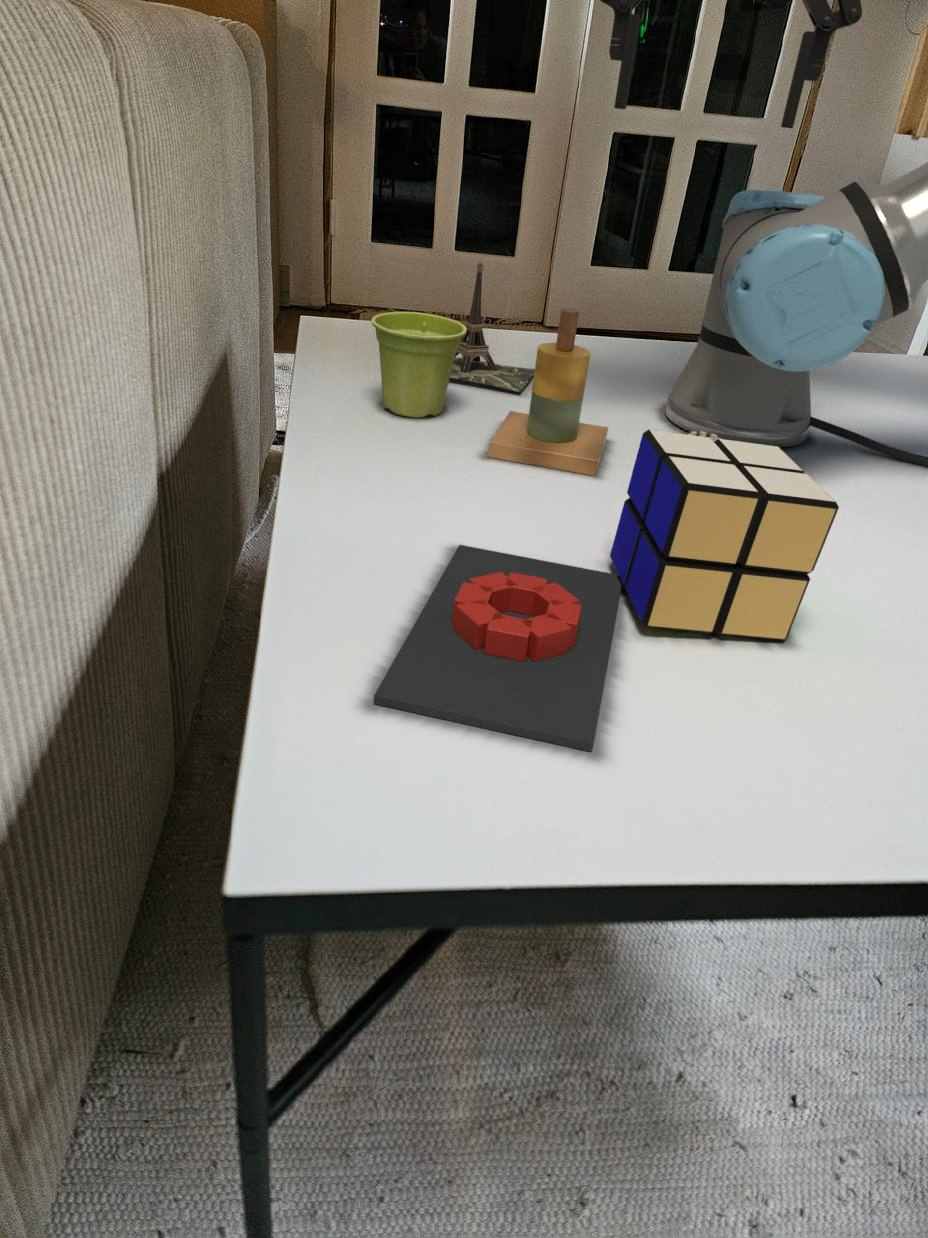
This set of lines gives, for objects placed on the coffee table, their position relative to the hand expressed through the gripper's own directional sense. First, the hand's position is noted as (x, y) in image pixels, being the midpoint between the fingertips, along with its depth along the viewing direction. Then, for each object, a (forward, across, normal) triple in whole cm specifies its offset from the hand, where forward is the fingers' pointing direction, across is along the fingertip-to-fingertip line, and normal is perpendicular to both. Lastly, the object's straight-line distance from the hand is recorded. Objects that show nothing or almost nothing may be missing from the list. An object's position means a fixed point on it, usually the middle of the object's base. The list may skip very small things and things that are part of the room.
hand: (702, 118), depth 75 cm
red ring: (+28, +5, +39) cm, 48 cm away
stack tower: (+29, +8, +4) cm, 30 cm away
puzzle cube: (+29, -6, +30) cm, 42 cm away
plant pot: (+29, +23, -1) cm, 37 cm away
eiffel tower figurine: (+29, +21, -17) cm, 40 cm away
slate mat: (+29, +5, +39) cm, 49 cm away
